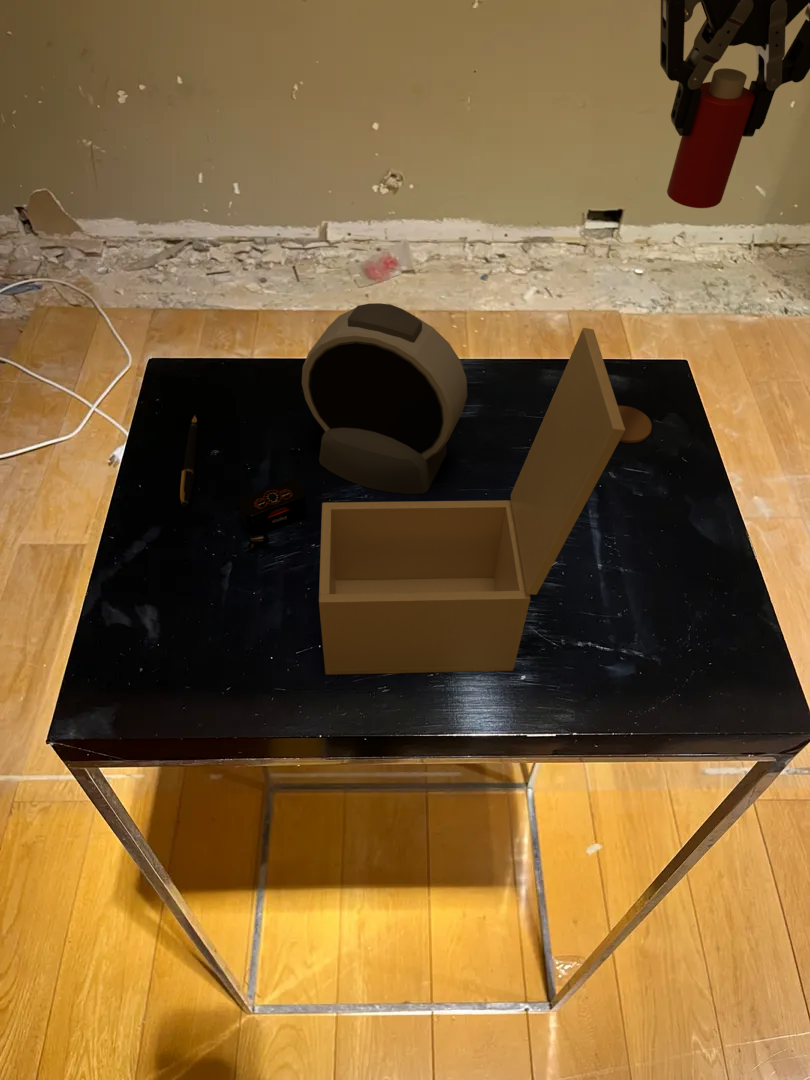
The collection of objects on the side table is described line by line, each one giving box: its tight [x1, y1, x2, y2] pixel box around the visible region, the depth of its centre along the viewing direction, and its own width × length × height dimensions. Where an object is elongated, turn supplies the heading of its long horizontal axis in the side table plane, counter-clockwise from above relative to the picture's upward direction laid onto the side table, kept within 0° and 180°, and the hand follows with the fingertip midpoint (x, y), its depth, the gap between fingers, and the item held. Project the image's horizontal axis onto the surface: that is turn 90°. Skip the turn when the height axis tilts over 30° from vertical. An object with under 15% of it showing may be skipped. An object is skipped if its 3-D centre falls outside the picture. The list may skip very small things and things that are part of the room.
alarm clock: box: [301, 302, 468, 495], centre depth 83 cm, size 16×10×18 cm, turn 69°
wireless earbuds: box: [238, 478, 308, 552], centre depth 82 cm, size 5×7×3 cm, turn 119°
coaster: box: [618, 405, 653, 444], centre depth 94 cm, size 6×6×1 cm
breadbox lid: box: [509, 327, 625, 596], centre depth 61 cm, size 18×11×1 cm
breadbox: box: [318, 499, 532, 676], centre depth 72 cm, size 17×11×11 cm, turn 92°
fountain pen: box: [179, 415, 198, 509], centre depth 88 cm, size 14×1×2 cm, turn 5°
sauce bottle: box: [666, 67, 755, 209], centre depth 70 cm, size 5×5×10 cm
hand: (713, 131), depth 69 cm, fingers closed on sauce bottle, 4 cm apart
